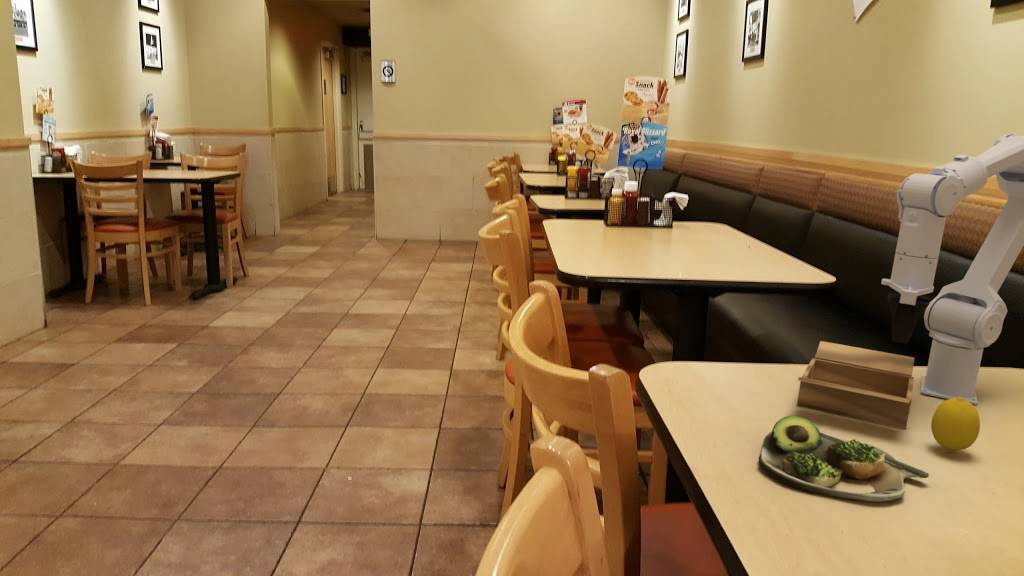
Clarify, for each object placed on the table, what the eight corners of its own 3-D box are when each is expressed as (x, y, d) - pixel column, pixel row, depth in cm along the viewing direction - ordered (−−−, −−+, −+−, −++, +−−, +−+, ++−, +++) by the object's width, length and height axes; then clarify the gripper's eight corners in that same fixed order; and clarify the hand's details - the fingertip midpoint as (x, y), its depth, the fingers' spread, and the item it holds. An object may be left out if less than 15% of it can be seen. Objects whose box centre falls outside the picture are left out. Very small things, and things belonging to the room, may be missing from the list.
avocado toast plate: (920, 461, 98) (927, 429, 97) (934, 526, 82) (941, 488, 81) (767, 430, 105) (772, 400, 104) (752, 483, 89) (757, 448, 88)
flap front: (798, 377, 108) (798, 380, 108) (909, 399, 101) (909, 403, 101) (802, 378, 113) (802, 381, 112) (908, 399, 106) (908, 403, 106)
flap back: (814, 356, 123) (814, 359, 124) (911, 375, 117) (911, 377, 117) (820, 340, 128) (820, 343, 128) (914, 357, 121) (914, 360, 121)
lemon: (980, 464, 97) (992, 407, 95) (934, 458, 98) (945, 402, 96) (964, 446, 102) (975, 392, 100) (921, 441, 103) (931, 387, 101)
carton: (808, 383, 124) (812, 358, 123) (908, 404, 117) (913, 377, 116) (796, 405, 114) (800, 378, 113) (905, 429, 107) (911, 400, 106)
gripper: (889, 245, 119) (875, 326, 122) (884, 256, 107) (867, 346, 110) (939, 251, 116) (923, 335, 119) (940, 264, 103) (921, 356, 106)
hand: (900, 341), depth 114 cm, fingers closed
